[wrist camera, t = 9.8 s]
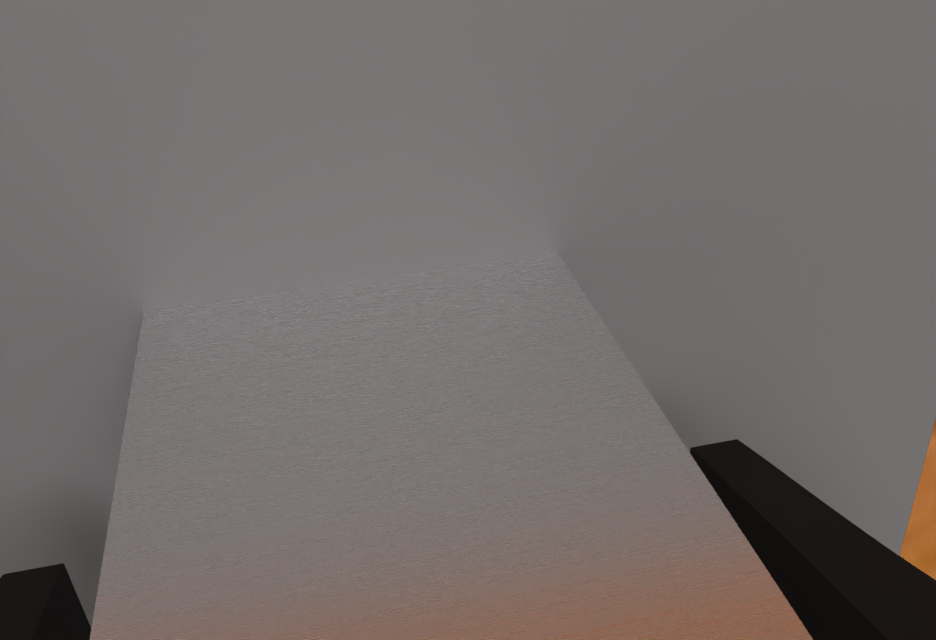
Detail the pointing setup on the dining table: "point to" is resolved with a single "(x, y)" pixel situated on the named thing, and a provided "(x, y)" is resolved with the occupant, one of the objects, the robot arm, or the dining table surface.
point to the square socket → (414, 475)
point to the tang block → (478, 209)
